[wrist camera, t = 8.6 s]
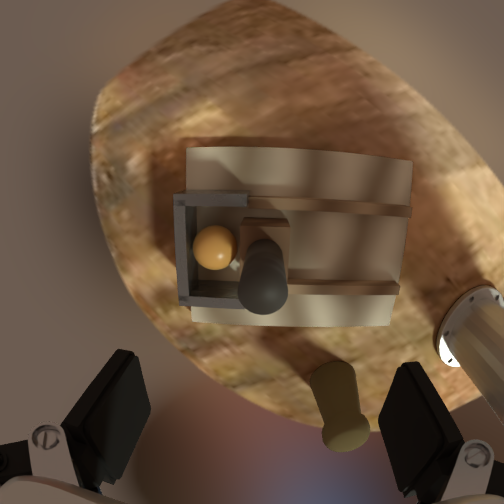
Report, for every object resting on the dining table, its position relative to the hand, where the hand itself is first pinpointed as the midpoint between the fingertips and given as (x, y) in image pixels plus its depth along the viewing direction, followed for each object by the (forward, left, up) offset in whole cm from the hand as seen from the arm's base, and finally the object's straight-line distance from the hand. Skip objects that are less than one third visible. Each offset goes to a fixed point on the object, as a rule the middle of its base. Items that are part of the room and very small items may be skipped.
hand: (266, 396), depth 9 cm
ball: (+5, 0, -18) cm, 18 cm away
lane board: (-3, 0, -21) cm, 21 cm away
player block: (0, 0, -20) cm, 20 cm away
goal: (+5, 0, -20) cm, 20 cm away
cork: (-9, +18, -21) cm, 29 cm away
